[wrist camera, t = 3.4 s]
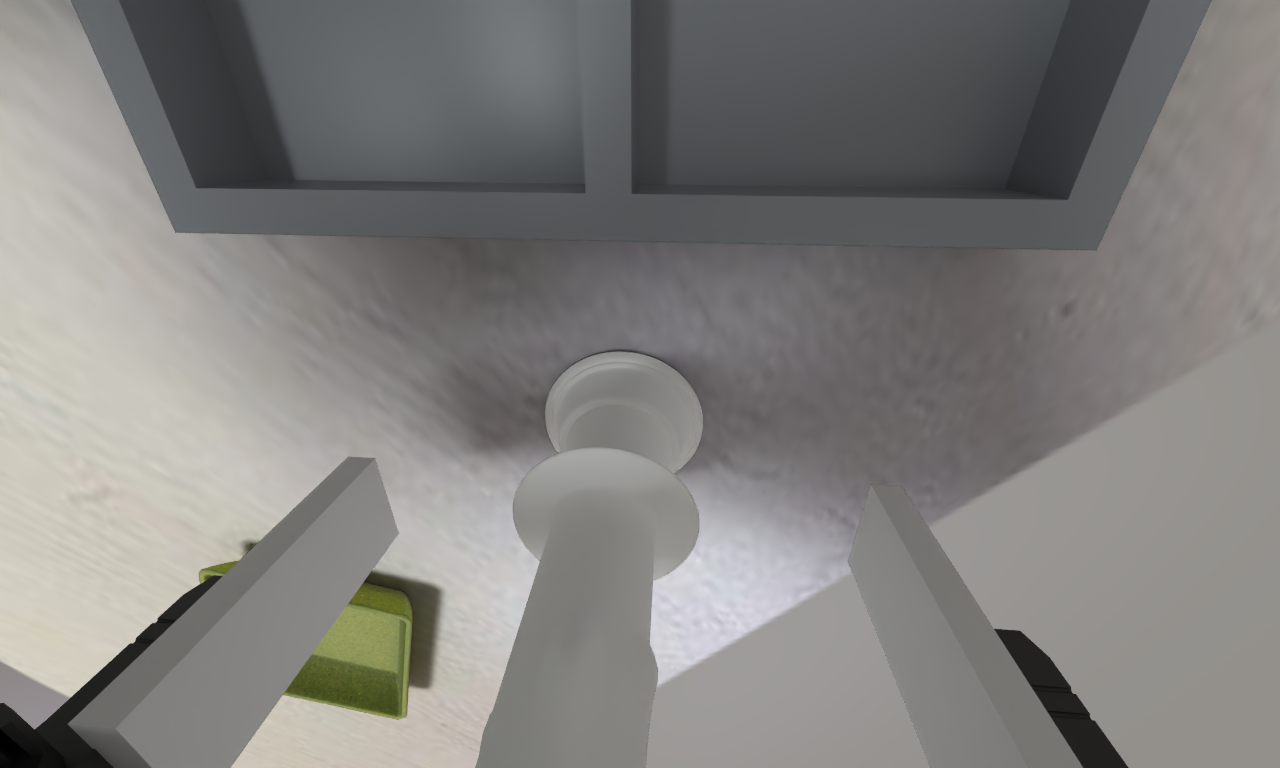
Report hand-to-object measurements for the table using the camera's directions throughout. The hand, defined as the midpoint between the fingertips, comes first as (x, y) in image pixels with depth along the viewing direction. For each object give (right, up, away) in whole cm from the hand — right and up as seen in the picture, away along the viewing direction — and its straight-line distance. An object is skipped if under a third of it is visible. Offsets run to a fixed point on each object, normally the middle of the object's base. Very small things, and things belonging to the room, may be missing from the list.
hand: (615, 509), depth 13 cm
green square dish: (-14, -8, +10) cm, 19 cm away
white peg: (0, +2, +3) cm, 4 cm away
